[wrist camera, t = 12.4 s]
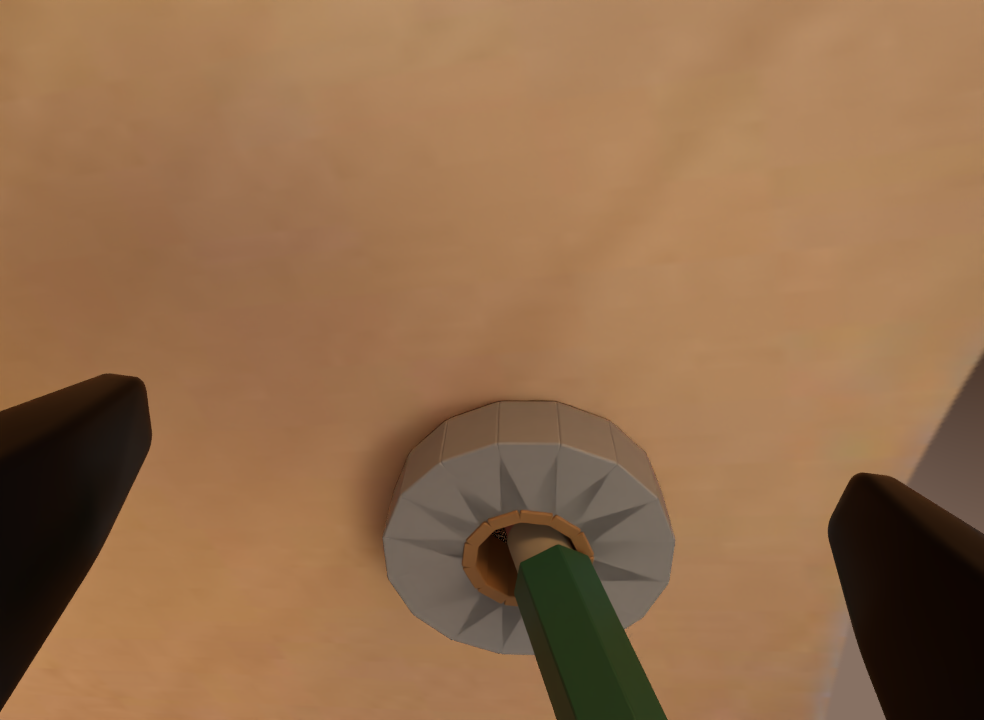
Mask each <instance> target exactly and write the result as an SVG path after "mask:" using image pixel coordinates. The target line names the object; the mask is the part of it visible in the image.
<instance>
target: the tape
mask: <svg viewBox="0 0 984 720" xmlns="http://www.w3.org/2000/svg"><path fill="white" fill-rule="evenodd" d="M517 523H530V524H539V525H548V526H550V527H552V528H554V529H555V530H557V531H559V532H560V533H562V534H564V535H565V536H567V537H568V539H569V541H570V543H571V545H572V547H573V550H575V551H578V552H580V553H583V554H585V555H588V556H589V558H590V560H591V562H592V564H593V566H594V568H595V571H596V573H597V575H598V577H599V579H600V581H601V583H602V585H603V587H604V589H605V591H606V593H607V595H608V597H609V600H610V602H611V604H612V606H613V608H614V610H615V612H616V614H617V616H618V618H619V620H620V622H621V624H622V626H623V628H624V629H625V628H627V627H629V626H630V625H632V624H634V623H635V622H637V621H638V620H640V619H642V618H643V617H644V615H645V614H646V613H647V611H648V610H649V609H650V607H651V606H652V605H653V603H654V602H655V601H656V599H657V598H658V597H659V595H660V594H661V593H662V591H663V590H664V589H665V587H666V586H667V585H668V583H669V579H670V573H671V566H672V559H673V553H674V546H675V536H674V533H673V529H672V526H671V522H670V519H669V515H668V511H667V508H666V504H665V501H664V497H663V494H662V491H661V488H660V486H659V483H658V481H657V478H656V476H655V473H654V471H653V468H652V466H651V463H650V461H649V458H648V456H647V454H646V453H645V452H644V451H643V450H642V449H641V448H640V447H639V446H638V445H637V444H635V443H634V442H633V441H632V440H631V439H630V438H629V437H628V436H626V435H625V434H624V433H623V432H622V431H621V430H620V429H619V428H617V427H616V426H615V425H614V424H613V423H612V422H611V421H608V420H607V419H604V418H601V417H599V416H596V415H593V414H590V413H587V412H585V411H582V410H579V409H576V408H573V407H571V406H568V405H565V404H562V403H559V402H557V403H556V402H555V401H500V402H495V403H493V404H490V405H487V406H484V407H481V408H478V409H475V410H472V411H470V412H467V413H464V414H461V415H458V416H455V417H452V418H450V419H448V420H446V421H445V422H443V423H442V424H441V425H440V426H439V427H438V428H437V429H435V430H434V431H433V432H432V433H431V434H430V435H429V436H427V437H426V438H425V439H424V440H423V441H422V442H421V443H419V444H418V445H417V446H416V447H415V448H414V449H412V450H411V452H410V453H409V455H408V457H407V460H406V462H405V465H404V467H403V469H402V472H401V474H400V477H399V479H398V482H397V484H396V486H395V489H394V492H393V496H392V500H391V504H390V508H389V512H388V516H387V520H386V524H385V528H384V532H383V537H382V538H383V546H384V553H385V561H386V569H387V576H388V579H389V581H390V582H391V584H392V585H393V587H394V588H395V589H396V591H397V592H398V594H399V595H400V597H401V598H402V599H403V601H404V602H405V604H406V605H407V607H408V608H409V610H410V611H411V612H412V614H413V615H414V616H416V617H417V618H419V619H421V620H422V621H424V622H425V623H427V624H428V625H430V626H431V627H433V628H434V629H436V630H437V631H439V632H440V633H442V634H443V635H445V636H446V637H448V638H449V639H451V640H454V641H457V642H461V643H464V644H468V645H471V646H474V647H478V648H481V649H485V650H488V651H492V652H495V653H498V654H500V653H501V654H516V655H535V654H534V651H533V648H532V645H531V642H530V639H529V636H528V633H527V631H526V628H525V625H524V622H523V619H522V616H521V613H520V610H519V607H518V604H517V601H516V598H515V595H514V590H515V585H516V580H517V575H518V573H517V570H516V567H515V564H514V561H513V559H512V556H511V553H510V550H509V547H508V544H507V543H505V542H503V541H501V540H500V539H498V538H496V537H494V536H493V535H491V534H492V533H493V532H494V531H495V530H497V529H501V528H504V527H507V526H511V525H514V524H517Z"/></svg>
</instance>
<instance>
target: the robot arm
mask: <svg viewBox="0 0 984 720" xmlns="http://www.w3.org/2000/svg"><path fill="white" fill-rule="evenodd" d="M151 440H152V429H151V421H150V414H149V406H148V398H147V391H146V387H145V384H144V382H143V381H142V380H141V379H139V378H138V377H133V376H125V375H118V374H110V373H109V374H102V375H100V376H97V377H94V378H91V379H88V380H86V381H83V382H80V383H77V384H75V385H72V386H69V387H66V388H64V389H61V390H58V391H55V392H53V393H50V394H47V395H44V396H42V397H39V398H36V399H33V400H31V401H28V402H25V403H22V404H20V405H17V406H14V407H11V408H9V409H6V410H3V411H0V712H1V710H2V708H3V707H4V705H5V704H6V702H7V700H8V699H9V697H10V696H11V694H12V692H13V691H14V689H15V688H16V686H17V685H18V683H19V681H20V680H21V678H22V677H23V675H24V673H25V672H26V670H27V669H28V667H29V665H30V664H31V662H32V661H33V659H34V658H35V656H36V654H37V653H38V651H39V650H40V648H41V646H42V645H43V643H44V642H45V640H46V638H47V637H48V635H49V634H50V632H51V630H52V629H53V627H54V626H55V624H56V623H57V621H58V619H59V618H60V616H61V615H62V613H63V611H64V610H65V608H66V607H67V605H68V603H69V602H70V600H71V599H72V597H73V596H74V594H75V592H76V591H77V589H78V588H79V586H80V584H81V583H82V581H83V580H84V578H85V576H86V575H87V573H88V572H89V570H90V568H91V567H92V565H93V563H94V561H95V560H96V558H97V556H98V555H99V553H100V551H101V549H102V547H103V545H104V543H105V541H106V539H107V537H108V535H109V533H110V531H111V529H112V527H113V525H114V523H115V520H116V518H117V516H118V514H119V512H120V510H121V508H122V506H123V504H124V502H125V500H126V498H127V495H128V493H129V491H130V489H131V487H132V485H133V483H134V481H135V479H136V477H137V475H138V473H139V470H140V468H141V466H142V464H143V462H144V460H145V458H146V456H147V454H148V451H149V449H150V445H151ZM828 538H829V542H830V546H831V550H832V553H833V557H834V561H835V564H836V568H837V572H838V575H839V579H840V583H841V586H842V590H843V594H844V597H845V601H846V605H847V608H848V612H849V616H850V619H851V623H852V627H853V630H854V633H855V636H856V639H857V643H858V646H859V649H860V652H861V655H862V658H863V660H864V663H865V666H866V669H867V671H868V674H869V676H870V679H871V681H872V684H873V687H874V689H875V692H876V694H877V697H878V700H879V702H880V705H881V707H882V710H883V713H884V715H885V718H886V720H984V534H983V533H981V532H980V531H978V530H976V529H975V528H973V527H972V526H970V525H969V524H967V523H965V522H964V521H962V520H961V519H959V518H957V517H956V516H954V515H952V514H951V513H949V512H948V511H946V510H944V509H943V508H941V507H940V506H938V505H937V504H935V503H933V502H932V501H930V500H929V499H927V498H925V497H924V496H922V495H921V494H919V493H917V492H916V491H914V490H912V489H911V488H909V487H908V486H906V485H905V484H903V483H901V482H900V481H898V480H897V479H895V478H893V477H890V476H887V475H879V474H871V473H858V474H856V475H854V476H853V477H852V478H851V479H850V481H849V483H848V485H847V487H846V489H845V490H844V492H843V494H842V496H841V498H840V500H839V502H838V504H837V506H836V508H835V510H834V512H833V514H832V516H831V518H830V521H829V525H828Z"/></svg>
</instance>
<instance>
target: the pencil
mask: <svg viewBox="0 0 984 720" xmlns="http://www.w3.org/2000/svg"><path fill="white" fill-rule="evenodd" d="M504 528H505V531H506V534H507V537H508V538H507V544H508V547H509V550H510V553H511V556H512V559H513V561H514V564H515V567H516V570H517V573H518V575H517V580H516V585H515V590H514V595H515V598H516V601H517V604H518V607H519V610H520V613H521V616H522V619H523V622H524V625H525V628H526V631H527V633H528V636H529V639H530V642H531V645H532V648H533V651H534V654H535V657H536V660H537V663H538V666H539V669H540V672H541V675H542V677H543V680H544V683H545V686H546V689H547V692H548V695H549V698H550V701H551V704H552V707H553V710H554V713H555V716H556V719H557V720H668V719H667V717H666V715H665V713H664V711H663V709H662V707H661V705H660V703H659V701H658V699H657V697H656V695H655V693H654V691H653V688H652V686H651V684H650V682H649V680H648V678H647V676H646V674H645V672H644V670H643V668H642V666H641V664H640V662H639V659H638V657H637V655H636V653H635V651H634V649H633V647H632V645H631V643H630V641H629V639H628V637H627V635H626V633H625V631H624V628H623V626H622V624H621V622H620V620H619V618H618V616H617V614H616V612H615V610H614V608H613V606H612V604H611V602H610V600H609V597H608V595H607V593H606V591H605V589H604V587H603V585H602V583H601V581H600V579H599V577H598V575H597V573H596V571H595V568H594V566H593V564H592V562H591V560H590V558H589V556H588V555H585V554H583V553H580V552H578V551H575V550H573V547H572V545H571V543H570V541H569V539H568V537H567V536H565V535H564V534H562V533H560V532H559V531H557V530H555V529H554V528H552V527H550V526H548V525H539V524H530V523H517V524H514V525H511V526H507V527H504Z"/></svg>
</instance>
